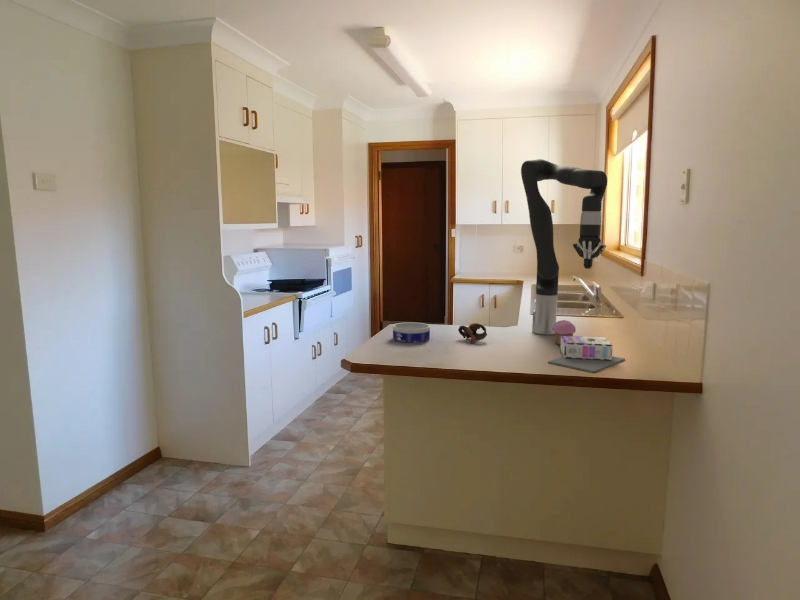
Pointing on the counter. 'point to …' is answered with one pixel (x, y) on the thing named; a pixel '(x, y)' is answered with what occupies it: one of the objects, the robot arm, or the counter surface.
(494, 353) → the counter surface
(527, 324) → the counter surface
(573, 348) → the candy box
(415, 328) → the dog bowl
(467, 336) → the brown curled figurine
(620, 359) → the mat
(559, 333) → the cupcake
